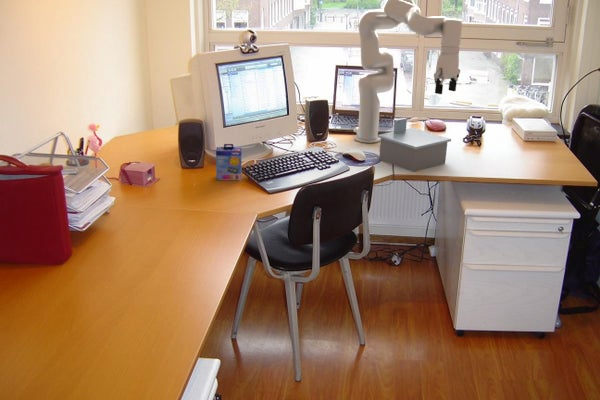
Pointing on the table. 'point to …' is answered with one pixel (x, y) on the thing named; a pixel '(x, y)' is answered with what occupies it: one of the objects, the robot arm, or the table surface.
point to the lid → (412, 136)
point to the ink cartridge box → (228, 163)
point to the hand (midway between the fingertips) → (445, 92)
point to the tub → (412, 155)
